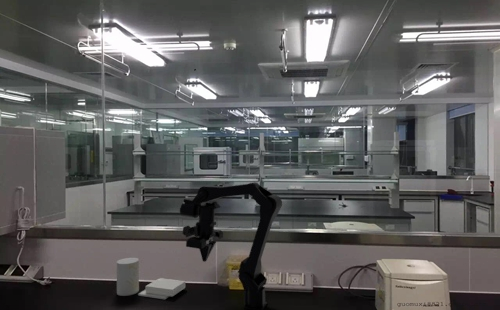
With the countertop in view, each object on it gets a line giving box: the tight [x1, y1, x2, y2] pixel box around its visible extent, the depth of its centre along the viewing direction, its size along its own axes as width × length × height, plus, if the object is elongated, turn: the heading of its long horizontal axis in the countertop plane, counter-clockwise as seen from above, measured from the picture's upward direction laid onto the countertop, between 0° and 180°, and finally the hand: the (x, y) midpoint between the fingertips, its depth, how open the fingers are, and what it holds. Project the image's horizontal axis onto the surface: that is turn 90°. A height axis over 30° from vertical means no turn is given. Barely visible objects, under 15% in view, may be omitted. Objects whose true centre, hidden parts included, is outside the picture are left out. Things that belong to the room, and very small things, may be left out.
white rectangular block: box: [145, 277, 186, 297], centre depth 124 cm, size 3×9×12 cm
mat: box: [137, 289, 170, 300], centre depth 124 cm, size 12×10×1 cm
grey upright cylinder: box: [116, 257, 140, 297], centre depth 126 cm, size 8×8×12 cm
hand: (204, 261), depth 119 cm, fingers closed
